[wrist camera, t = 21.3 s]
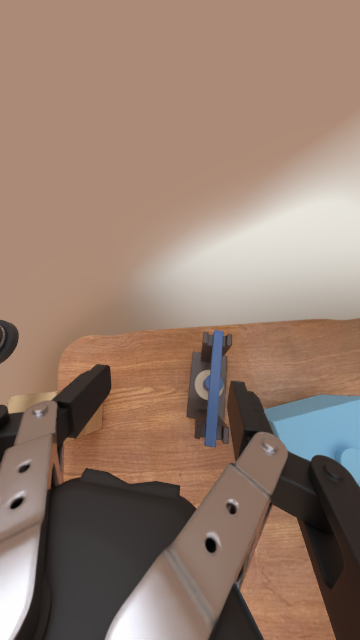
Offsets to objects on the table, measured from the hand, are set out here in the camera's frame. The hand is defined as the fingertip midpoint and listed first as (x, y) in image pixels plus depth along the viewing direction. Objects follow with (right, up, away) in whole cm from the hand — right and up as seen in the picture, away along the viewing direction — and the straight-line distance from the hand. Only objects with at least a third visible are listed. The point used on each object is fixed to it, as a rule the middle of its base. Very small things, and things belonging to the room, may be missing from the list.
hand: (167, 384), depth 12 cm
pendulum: (+6, -7, +21) cm, 23 cm away
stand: (+6, -9, +25) cm, 28 cm away
